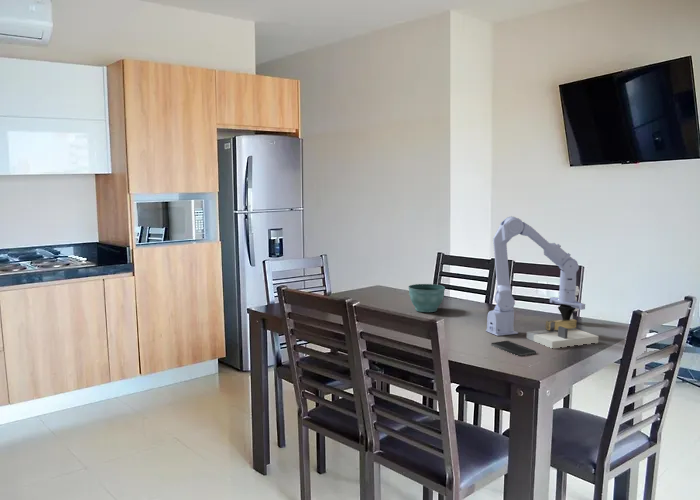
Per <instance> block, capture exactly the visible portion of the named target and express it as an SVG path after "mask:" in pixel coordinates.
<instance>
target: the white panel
mask: <svg viewBox="0 0 700 500" xmlns="http://www.w3.org/2000/svg"><path fill="white" fill-rule="evenodd" d="M599 338H600V337H599V335H597V334H593V333H590V332H588V331H587V332H586V331H584V330H581V329H578V328H571V329H567V328H564V327H561V326H559V327H558V330H555V331H548V330H546V329H540V330H532V331H531V330H530V331H526V340H530V341H532V342H535V343H537V344H539V343H540V345H542V346H544V345H545V347H547V348H549V347H550V349H552V348H553V349H561V348H560V347H562V348H568V347H567V346H570V347H575V346H574V345H578V346H584V345H583V344H587V345H592V344H591V343H595V344H599Z"/></svg>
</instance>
